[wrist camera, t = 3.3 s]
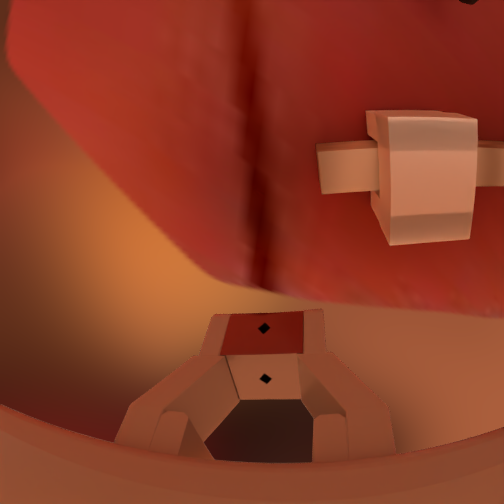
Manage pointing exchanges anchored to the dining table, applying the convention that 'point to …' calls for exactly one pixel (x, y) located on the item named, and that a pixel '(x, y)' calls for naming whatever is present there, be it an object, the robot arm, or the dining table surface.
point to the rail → (367, 165)
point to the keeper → (424, 174)
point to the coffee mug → (469, 1)
